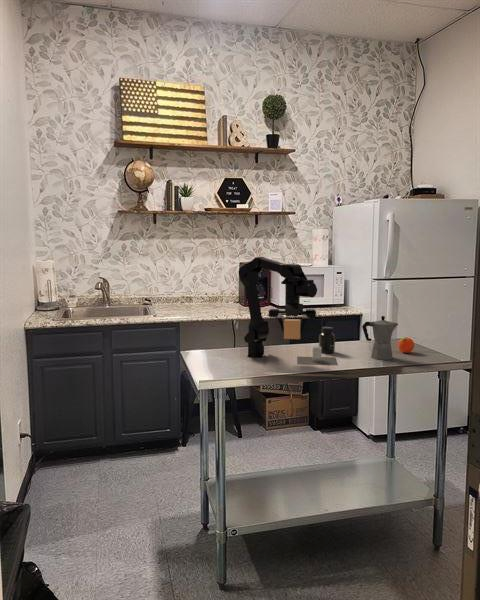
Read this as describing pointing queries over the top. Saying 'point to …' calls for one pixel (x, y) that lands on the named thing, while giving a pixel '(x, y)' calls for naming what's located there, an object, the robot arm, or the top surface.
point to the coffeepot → (381, 338)
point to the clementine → (406, 345)
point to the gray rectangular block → (317, 353)
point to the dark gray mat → (310, 362)
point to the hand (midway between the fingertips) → (292, 334)
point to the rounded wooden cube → (292, 329)
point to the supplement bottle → (327, 340)
